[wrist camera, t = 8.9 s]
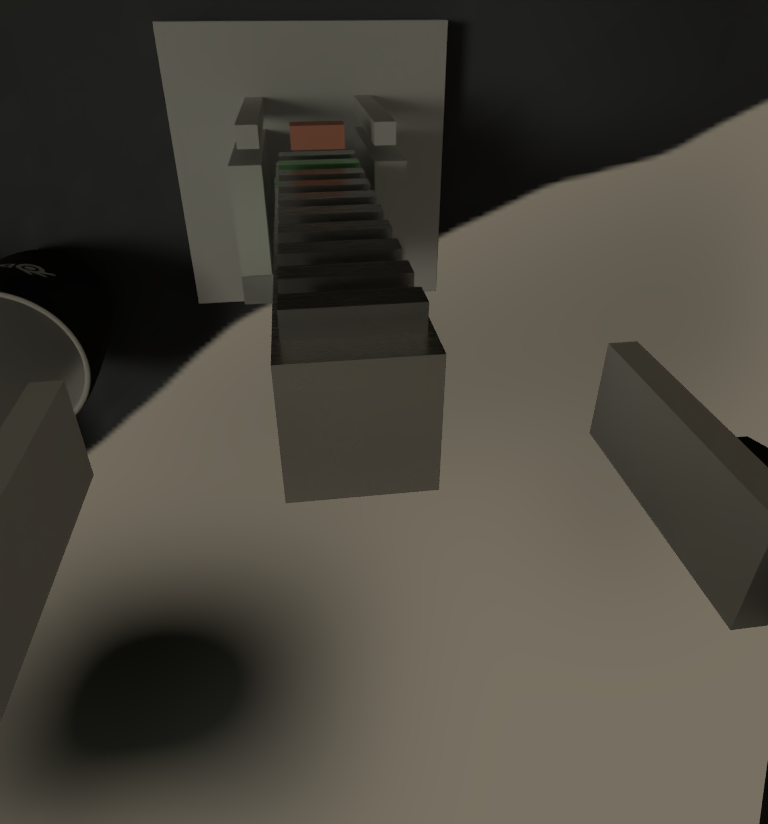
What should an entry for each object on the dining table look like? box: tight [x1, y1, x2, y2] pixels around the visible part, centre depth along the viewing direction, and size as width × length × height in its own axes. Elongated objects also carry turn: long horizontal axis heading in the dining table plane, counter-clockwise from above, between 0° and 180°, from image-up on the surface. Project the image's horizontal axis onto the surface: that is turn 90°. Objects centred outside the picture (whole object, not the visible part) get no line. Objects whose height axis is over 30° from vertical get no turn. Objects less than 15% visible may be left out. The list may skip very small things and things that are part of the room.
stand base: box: [152, 19, 448, 304], centre depth 36 cm, size 16×16×13 cm
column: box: [271, 150, 446, 503], centre depth 25 cm, size 5×4×22 cm
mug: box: [0, 250, 111, 427], centre depth 39 cm, size 12×9×10 cm
